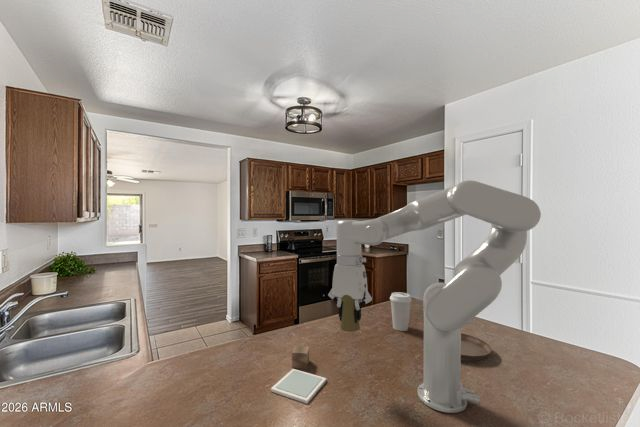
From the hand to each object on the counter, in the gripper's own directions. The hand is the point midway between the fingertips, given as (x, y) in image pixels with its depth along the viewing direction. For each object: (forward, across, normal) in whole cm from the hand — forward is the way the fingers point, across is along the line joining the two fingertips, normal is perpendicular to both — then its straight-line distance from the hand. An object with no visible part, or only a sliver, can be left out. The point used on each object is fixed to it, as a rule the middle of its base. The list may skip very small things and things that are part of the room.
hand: (349, 319), depth 88 cm
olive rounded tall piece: (+3, 0, 0) cm, 3 cm away
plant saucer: (+20, -29, -38) cm, 52 cm away
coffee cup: (+19, -5, -49) cm, 53 cm away
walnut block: (+18, +19, -2) cm, 26 cm away
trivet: (+18, +13, +9) cm, 24 cm away
